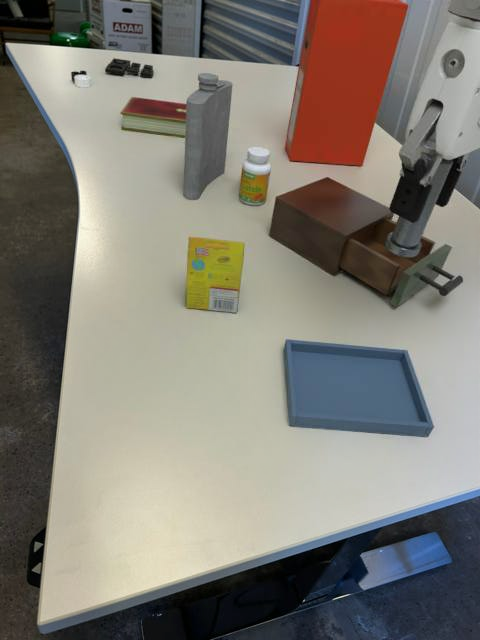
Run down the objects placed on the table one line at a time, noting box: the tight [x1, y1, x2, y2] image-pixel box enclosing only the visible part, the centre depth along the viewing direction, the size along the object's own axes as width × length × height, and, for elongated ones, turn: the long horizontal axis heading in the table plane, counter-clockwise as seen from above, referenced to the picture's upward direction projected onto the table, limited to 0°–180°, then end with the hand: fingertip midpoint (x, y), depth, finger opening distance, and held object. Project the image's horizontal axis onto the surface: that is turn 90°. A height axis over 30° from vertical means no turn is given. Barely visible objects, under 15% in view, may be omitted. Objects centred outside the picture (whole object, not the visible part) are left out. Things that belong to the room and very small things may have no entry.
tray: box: [283, 338, 435, 438], centre depth 59 cm, size 16×12×2 cm
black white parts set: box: [70, 57, 154, 89], centre depth 140 cm, size 20×25×3 cm
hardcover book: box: [120, 96, 186, 139], centre depth 116 cm, size 12×21×4 cm, turn 87°
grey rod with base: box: [385, 153, 453, 257], centre depth 50 cm, size 4×5×10 cm
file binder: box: [284, 0, 409, 167], centre depth 103 cm, size 8×17×32 cm, turn 95°
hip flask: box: [182, 72, 233, 201], centre depth 90 cm, size 16×4×20 cm, turn 160°
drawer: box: [339, 218, 464, 308], centre depth 75 cm, size 18×13×6 cm
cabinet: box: [268, 176, 395, 277], centre depth 82 cm, size 15×14×8 cm
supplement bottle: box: [238, 146, 272, 206], centre depth 90 cm, size 5×5×10 cm
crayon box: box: [185, 236, 246, 314], centre depth 65 cm, size 7×3×12 cm, turn 88°
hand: (418, 207), depth 50 cm, fingers closed on grey rod with base, 5 cm apart
